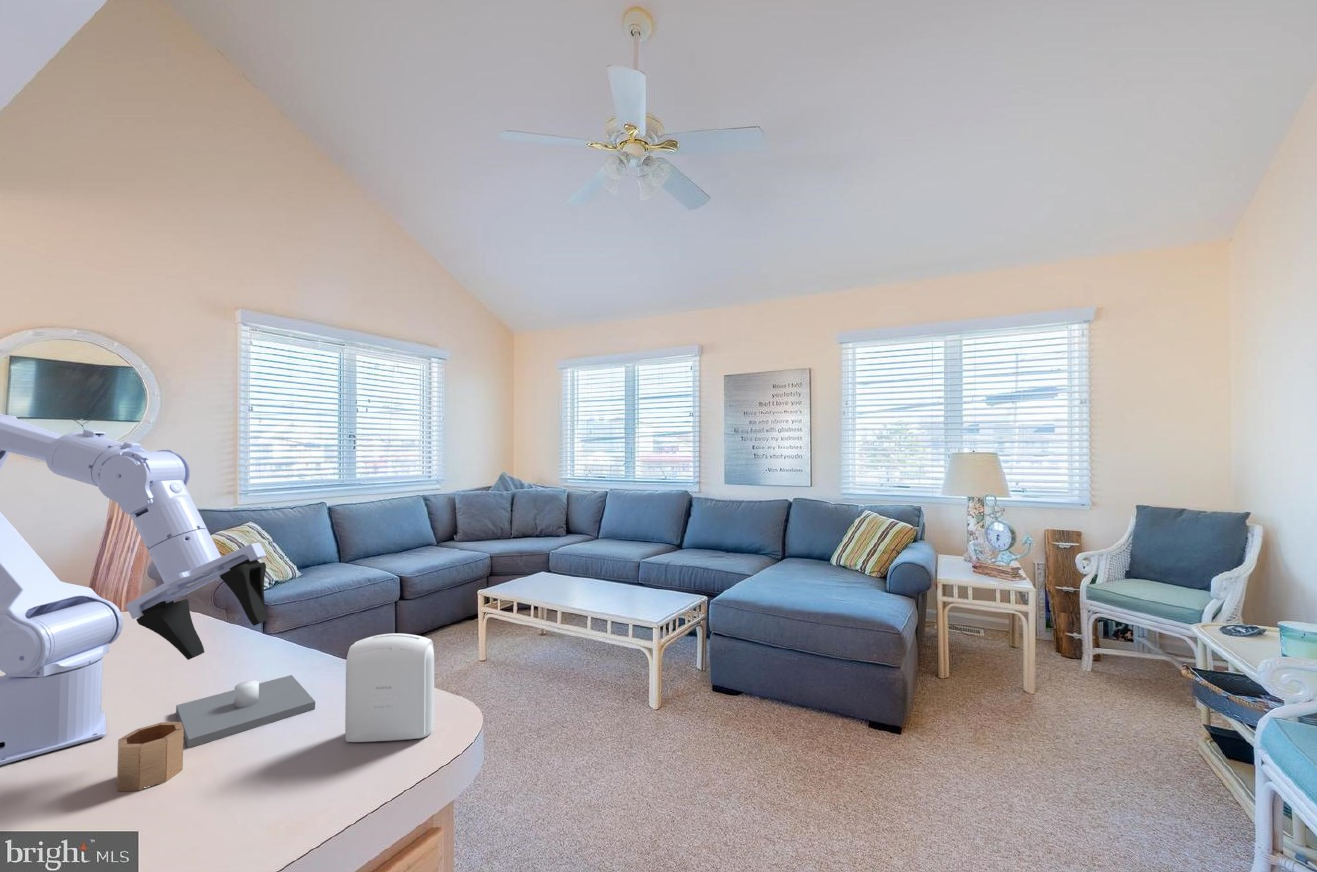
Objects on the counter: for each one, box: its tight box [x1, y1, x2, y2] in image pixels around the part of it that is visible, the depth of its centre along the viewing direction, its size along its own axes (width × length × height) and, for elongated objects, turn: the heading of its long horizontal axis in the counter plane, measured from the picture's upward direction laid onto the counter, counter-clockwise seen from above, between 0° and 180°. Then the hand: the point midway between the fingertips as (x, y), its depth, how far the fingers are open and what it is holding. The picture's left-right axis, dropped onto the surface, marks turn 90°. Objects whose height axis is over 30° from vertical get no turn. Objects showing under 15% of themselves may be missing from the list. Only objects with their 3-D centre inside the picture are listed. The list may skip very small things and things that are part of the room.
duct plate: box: [175, 674, 316, 749], centre depth 71 cm, size 13×12×4 cm
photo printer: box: [344, 632, 435, 743], centre depth 66 cm, size 10×4×12 cm, turn 96°
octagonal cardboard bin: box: [116, 721, 184, 792], centre depth 57 cm, size 5×5×4 cm
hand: (229, 639), depth 64 cm, fingers open, 7 cm apart
